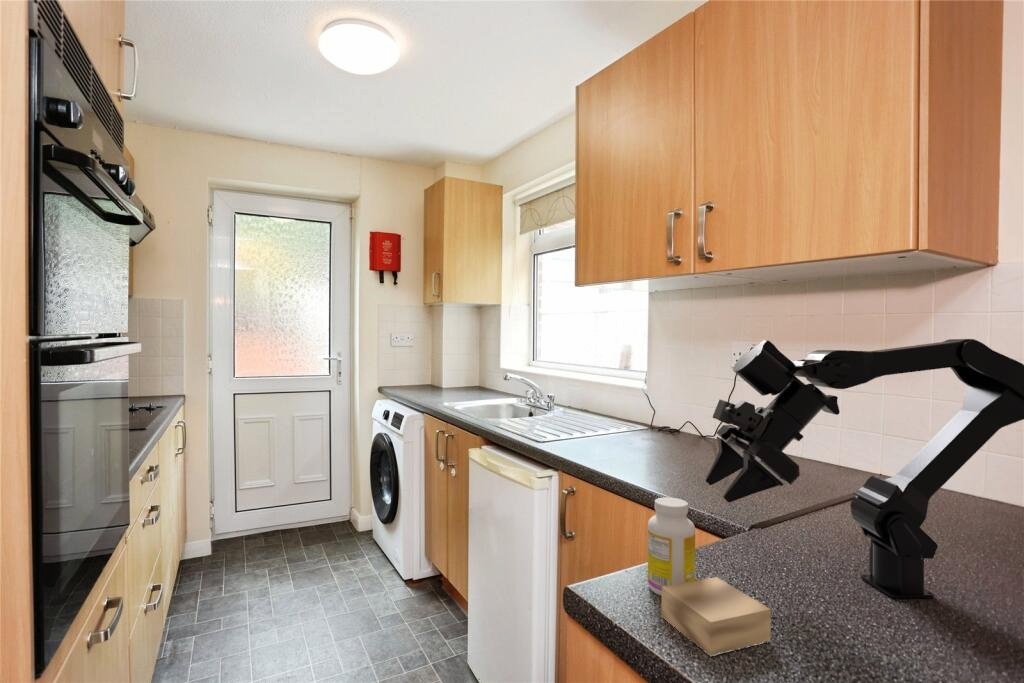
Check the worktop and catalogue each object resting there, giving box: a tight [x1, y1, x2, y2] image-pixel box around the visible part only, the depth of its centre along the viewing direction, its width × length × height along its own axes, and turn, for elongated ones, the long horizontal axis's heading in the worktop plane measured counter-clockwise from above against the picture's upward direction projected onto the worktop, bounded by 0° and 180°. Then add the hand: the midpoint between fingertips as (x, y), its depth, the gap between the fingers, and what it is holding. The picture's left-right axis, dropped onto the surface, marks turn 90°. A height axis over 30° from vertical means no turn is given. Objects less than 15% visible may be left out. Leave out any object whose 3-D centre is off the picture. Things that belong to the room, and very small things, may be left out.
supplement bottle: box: [647, 496, 696, 597], centre depth 74 cm, size 7×7×13 cm
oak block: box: [661, 576, 772, 655], centre depth 64 cm, size 9×9×4 cm
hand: (716, 491), depth 78 cm, fingers open, 9 cm apart
